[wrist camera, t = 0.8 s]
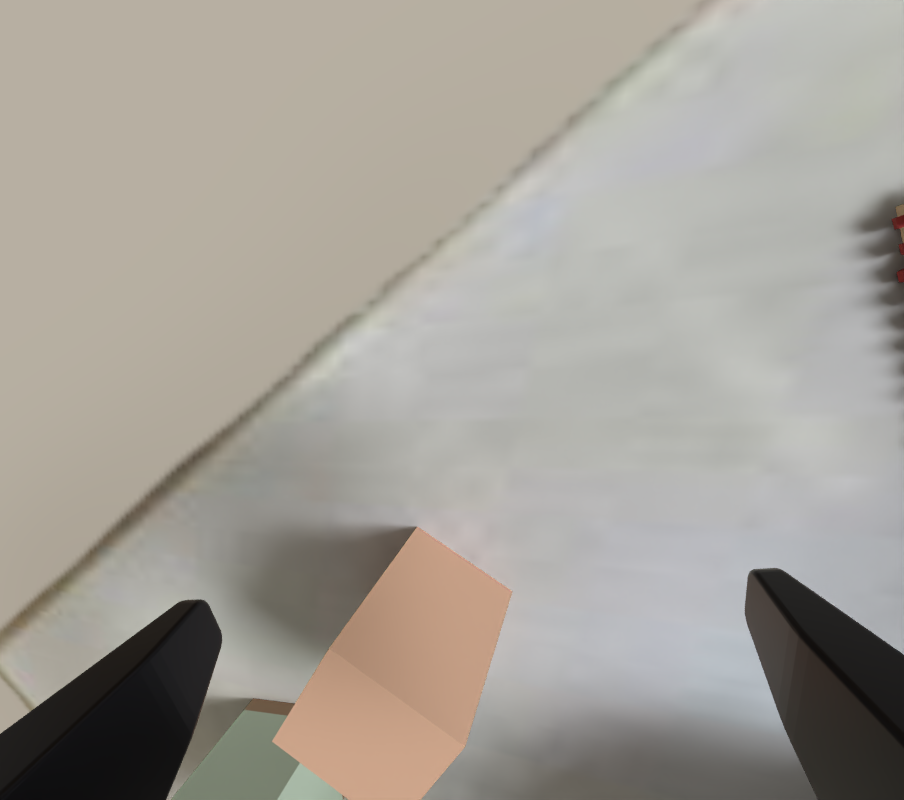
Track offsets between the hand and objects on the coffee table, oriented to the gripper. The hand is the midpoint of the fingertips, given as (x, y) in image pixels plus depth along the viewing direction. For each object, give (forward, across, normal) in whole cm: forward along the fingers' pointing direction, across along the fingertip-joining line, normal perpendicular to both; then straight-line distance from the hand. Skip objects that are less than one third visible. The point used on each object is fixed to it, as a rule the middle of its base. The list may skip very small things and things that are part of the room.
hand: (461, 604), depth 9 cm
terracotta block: (+12, +4, +12) cm, 17 cm away
